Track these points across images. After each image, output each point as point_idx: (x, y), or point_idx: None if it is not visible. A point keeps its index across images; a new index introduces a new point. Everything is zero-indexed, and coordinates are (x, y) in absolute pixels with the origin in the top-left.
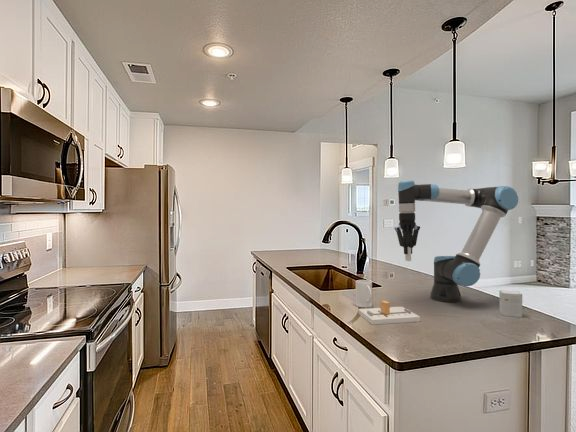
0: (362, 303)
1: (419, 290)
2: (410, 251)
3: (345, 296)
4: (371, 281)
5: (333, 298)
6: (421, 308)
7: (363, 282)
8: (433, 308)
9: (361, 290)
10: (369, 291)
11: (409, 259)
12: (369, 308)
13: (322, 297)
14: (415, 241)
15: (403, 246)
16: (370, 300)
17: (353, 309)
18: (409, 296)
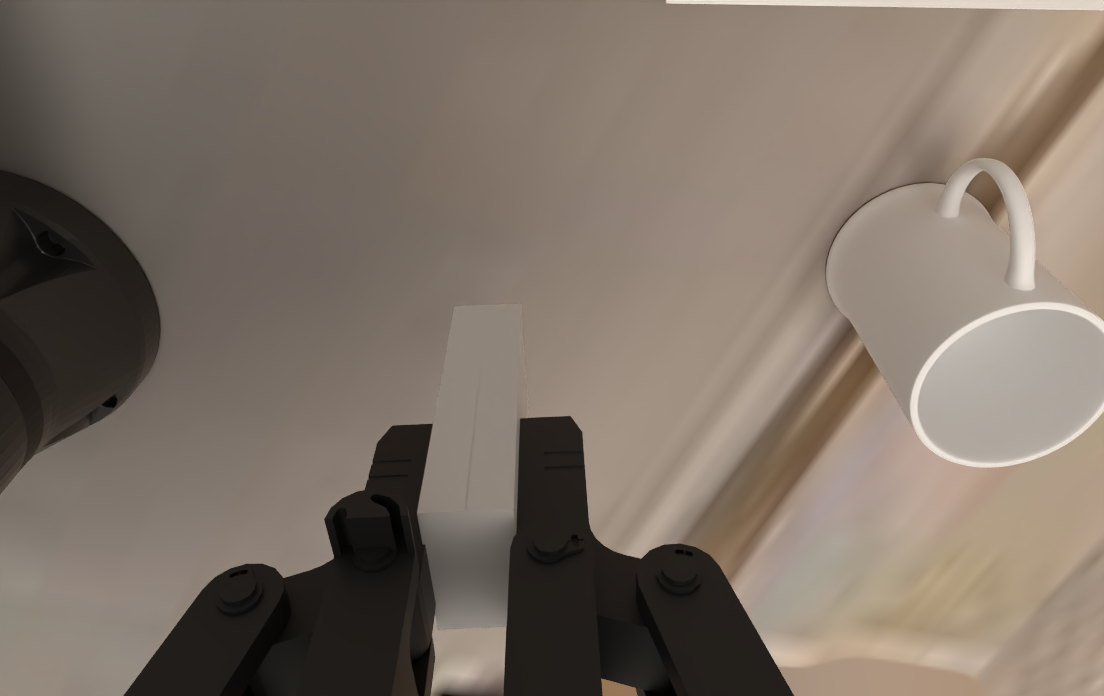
0: (983, 211)
1: (169, 554)
2: (446, 438)
3: (886, 517)
4: (921, 374)
5: (1022, 486)
6: (410, 33)
7: (947, 436)
8: (282, 5)
9: (1056, 278)
10: (1024, 197)
11: (496, 322)
12: (1056, 7)
13: (1089, 526)
14: (173, 692)
15: (679, 549)
16: (903, 222)
17: (1099, 148)
18: (337, 420)
